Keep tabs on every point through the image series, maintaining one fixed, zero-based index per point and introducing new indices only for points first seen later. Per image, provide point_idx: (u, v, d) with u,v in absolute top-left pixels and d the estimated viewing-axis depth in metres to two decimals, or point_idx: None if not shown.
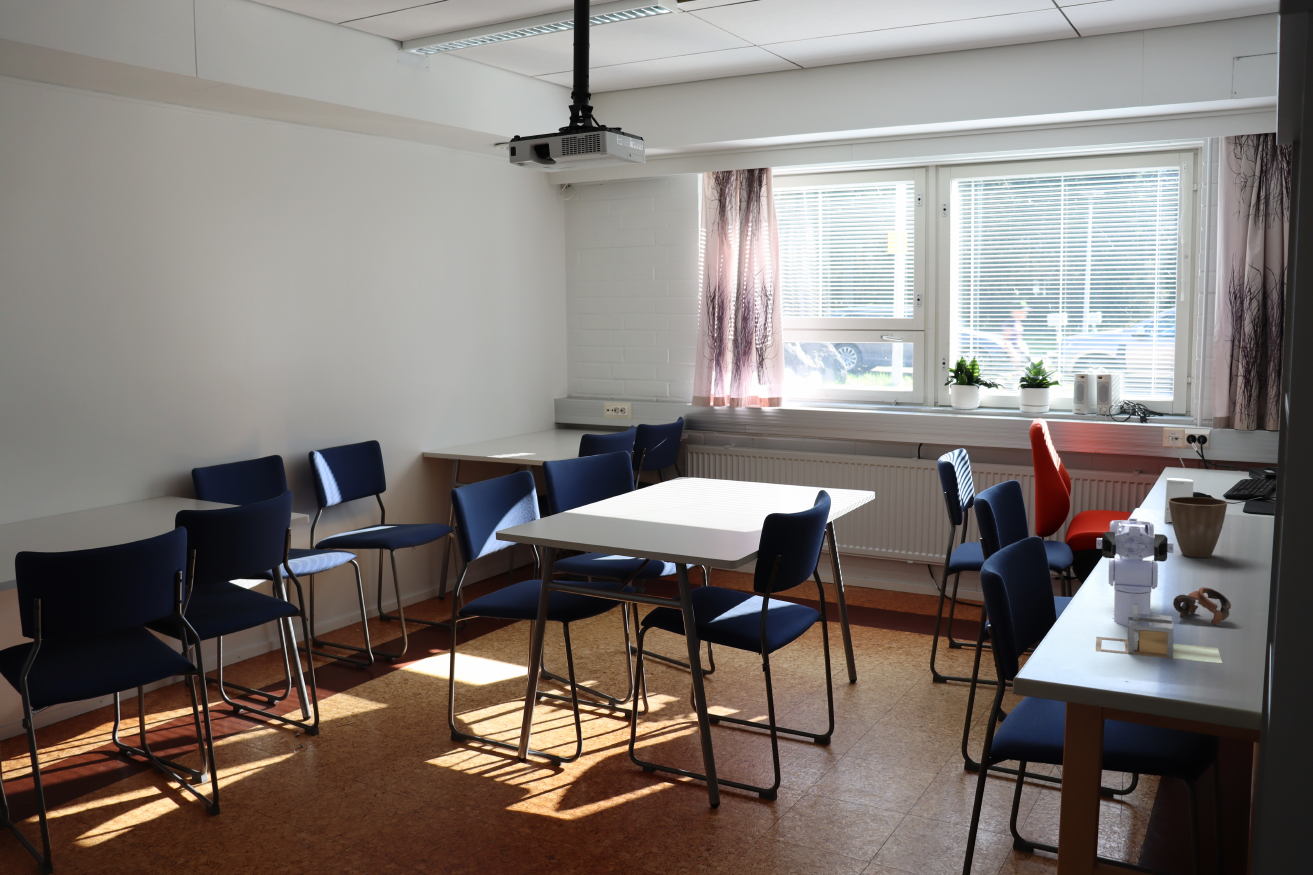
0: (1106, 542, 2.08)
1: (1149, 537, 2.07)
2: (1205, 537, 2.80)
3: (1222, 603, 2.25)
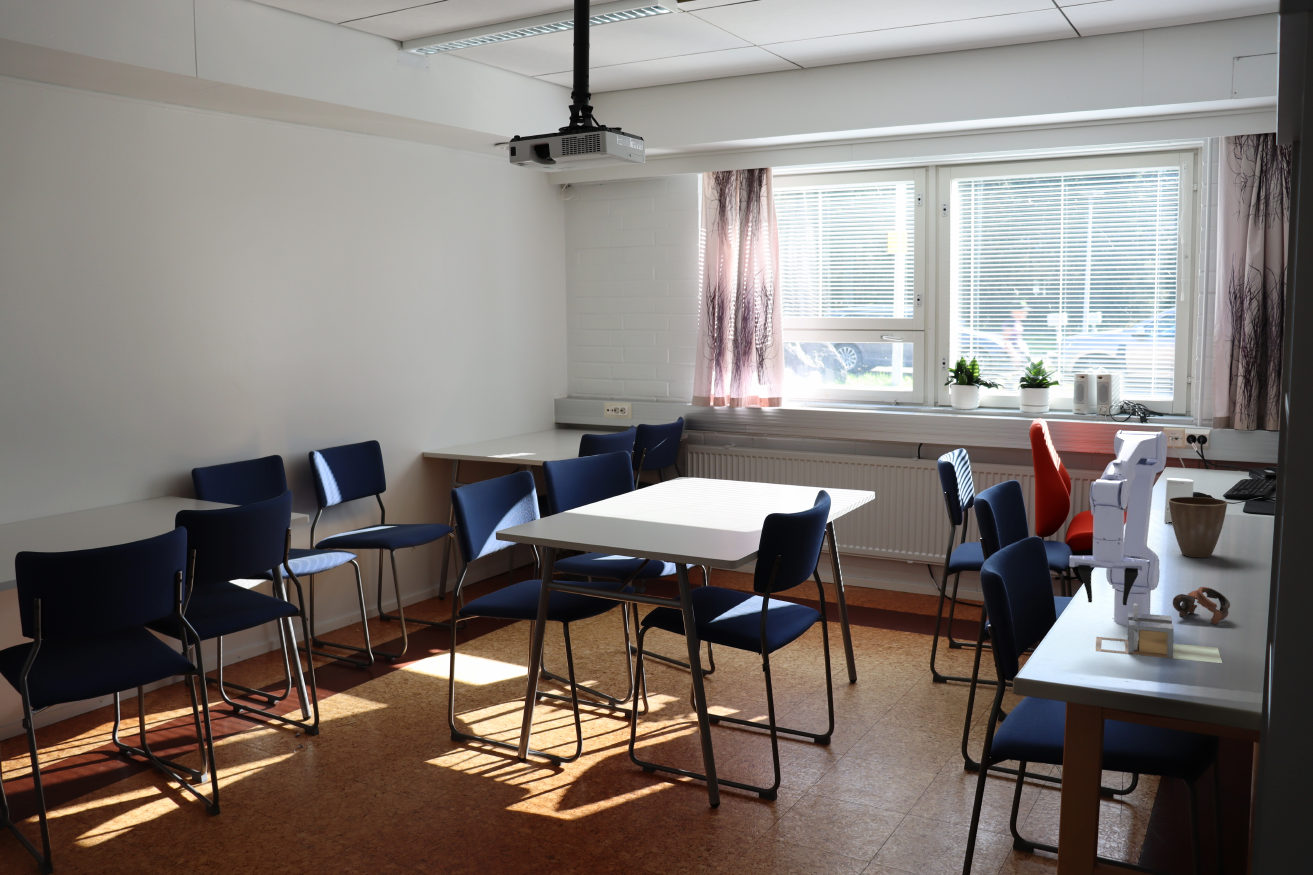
0: None
1: None
2: (1205, 537, 2.80)
3: (1221, 602, 2.25)
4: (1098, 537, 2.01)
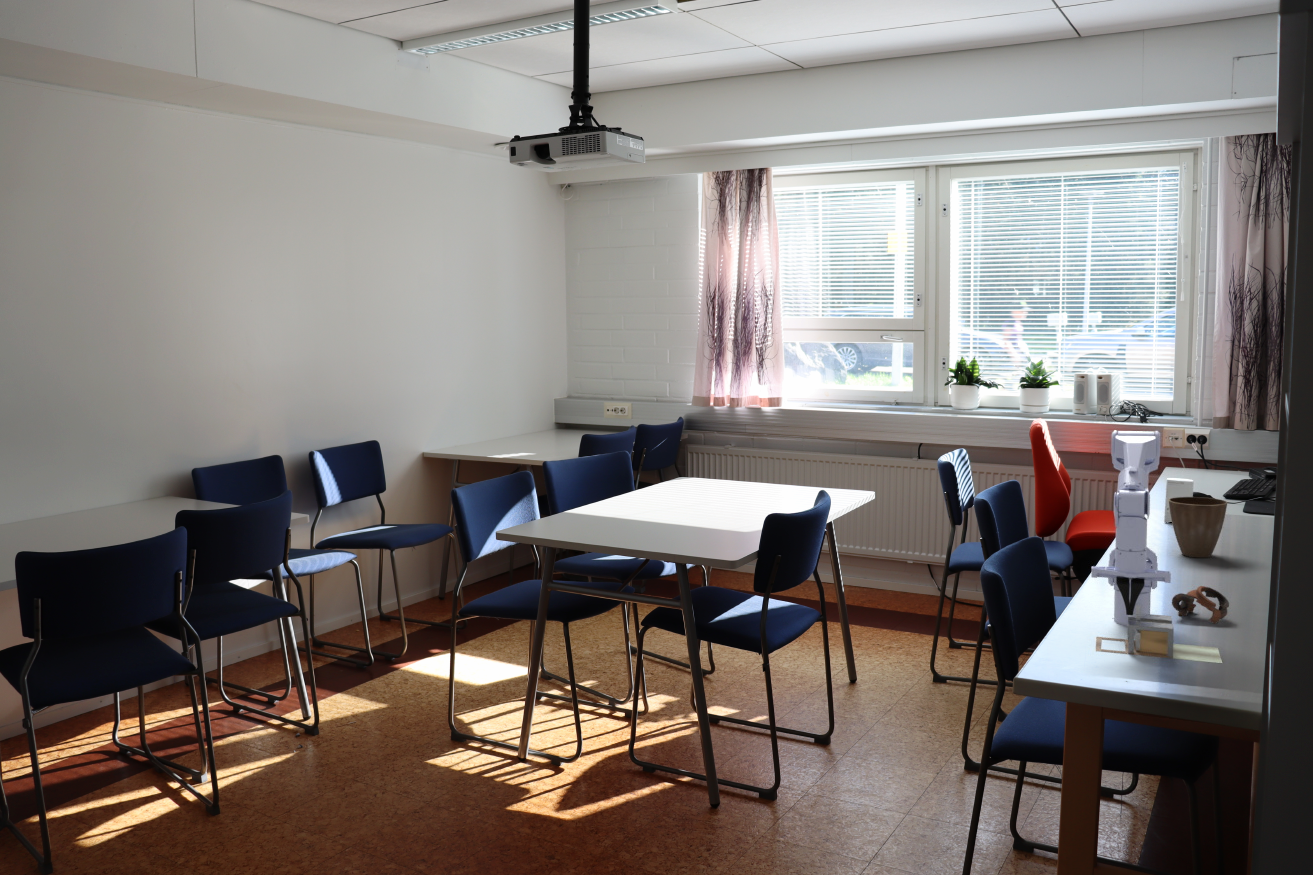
0: None
1: None
2: (1205, 537, 2.80)
3: (1220, 602, 2.26)
4: (1123, 548, 1.99)
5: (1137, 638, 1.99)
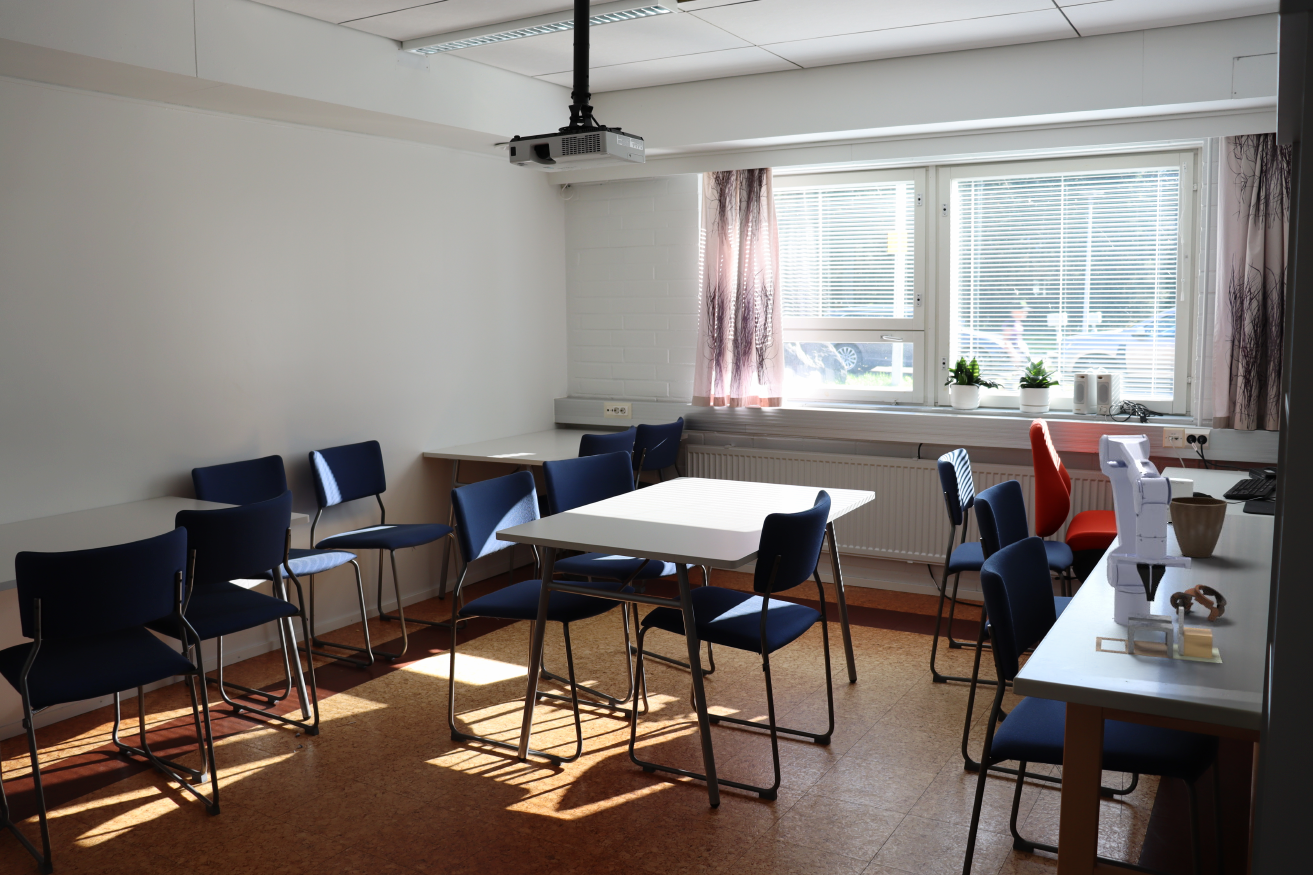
0: None
1: (1166, 562, 2.01)
2: (1205, 537, 2.80)
3: (1217, 600, 2.27)
4: (1148, 535, 2.01)
5: (1180, 642, 1.96)
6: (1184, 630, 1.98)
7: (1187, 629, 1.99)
